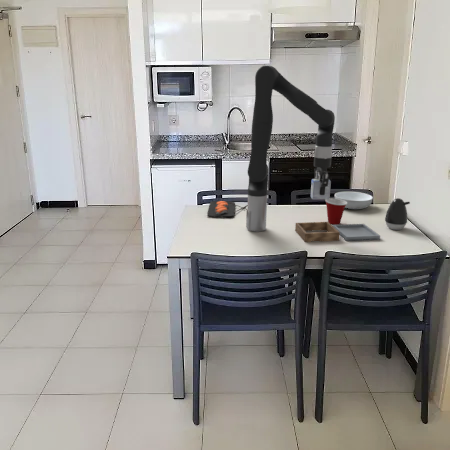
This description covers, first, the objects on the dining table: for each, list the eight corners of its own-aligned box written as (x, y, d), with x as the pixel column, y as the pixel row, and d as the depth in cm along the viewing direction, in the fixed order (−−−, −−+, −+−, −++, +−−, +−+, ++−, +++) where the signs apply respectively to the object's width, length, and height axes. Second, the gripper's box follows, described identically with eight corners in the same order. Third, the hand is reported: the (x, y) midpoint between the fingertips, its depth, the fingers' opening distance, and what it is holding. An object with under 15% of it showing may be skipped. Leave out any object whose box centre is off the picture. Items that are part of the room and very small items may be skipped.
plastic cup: (345, 227, 228) (348, 204, 225) (323, 226, 230) (325, 202, 227) (345, 221, 239) (347, 198, 235) (323, 219, 241) (325, 197, 237)
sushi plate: (210, 204, 270) (210, 197, 269) (261, 205, 269) (262, 198, 268) (206, 219, 243) (206, 212, 241) (264, 220, 242) (264, 213, 240)
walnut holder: (304, 242, 208) (305, 233, 207) (295, 230, 223) (295, 222, 222) (339, 240, 210) (339, 232, 209) (327, 229, 225) (327, 221, 224)
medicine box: (327, 197, 213) (328, 178, 211) (329, 199, 209) (331, 180, 206) (310, 197, 213) (311, 178, 210) (312, 199, 209) (313, 180, 206)
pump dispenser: (402, 233, 221) (406, 202, 216) (381, 228, 227) (384, 198, 222) (409, 227, 228) (413, 198, 224) (388, 223, 234) (391, 194, 230)
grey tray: (346, 241, 209) (346, 237, 209) (332, 228, 226) (332, 224, 226) (379, 239, 211) (380, 235, 211) (363, 227, 228) (364, 223, 228)
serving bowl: (358, 214, 250) (359, 202, 248) (326, 206, 264) (327, 195, 262) (378, 207, 263) (380, 196, 261) (347, 200, 278) (348, 189, 276)
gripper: (309, 153, 211) (307, 190, 217) (319, 159, 198) (317, 197, 203) (325, 153, 212) (323, 189, 218) (336, 158, 199) (333, 197, 204)
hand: (320, 193), depth 210 cm, fingers closed on medicine box, 4 cm apart
